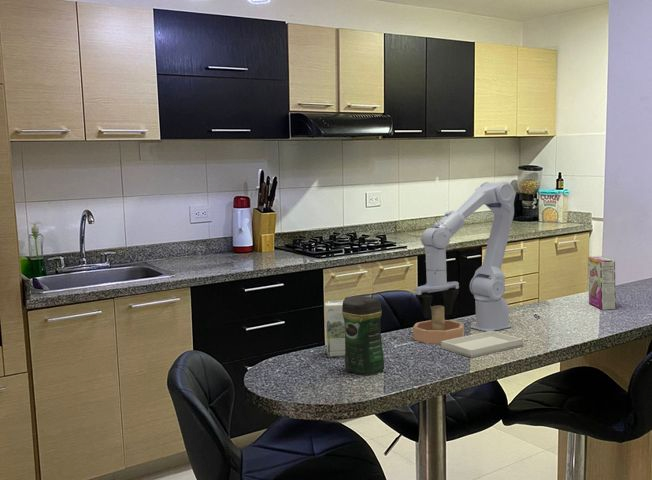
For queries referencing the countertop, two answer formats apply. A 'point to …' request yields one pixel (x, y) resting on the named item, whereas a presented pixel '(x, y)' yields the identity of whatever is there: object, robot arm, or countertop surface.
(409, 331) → the countertop surface
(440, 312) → the wooden pin
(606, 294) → the candy bar box
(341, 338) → the syrup box
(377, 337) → the coffee jar
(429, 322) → the octagonal open frame
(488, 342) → the cream tray
